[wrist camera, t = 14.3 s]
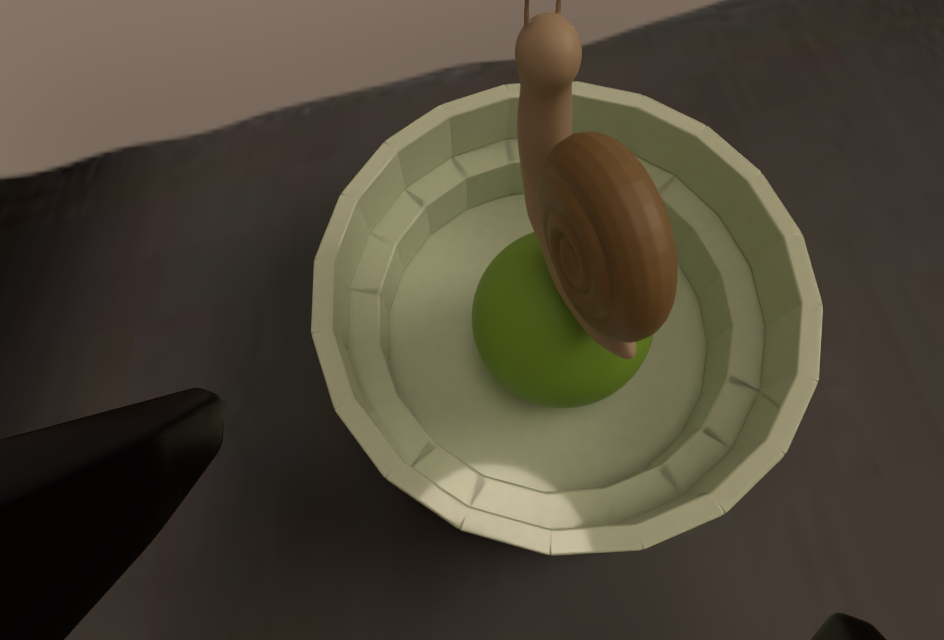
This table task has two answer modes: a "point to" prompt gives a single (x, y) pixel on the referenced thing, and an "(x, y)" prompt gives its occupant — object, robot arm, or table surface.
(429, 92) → the table surface
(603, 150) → the snail figurine
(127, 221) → the table surface
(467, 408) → the basin
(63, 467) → the robot arm
